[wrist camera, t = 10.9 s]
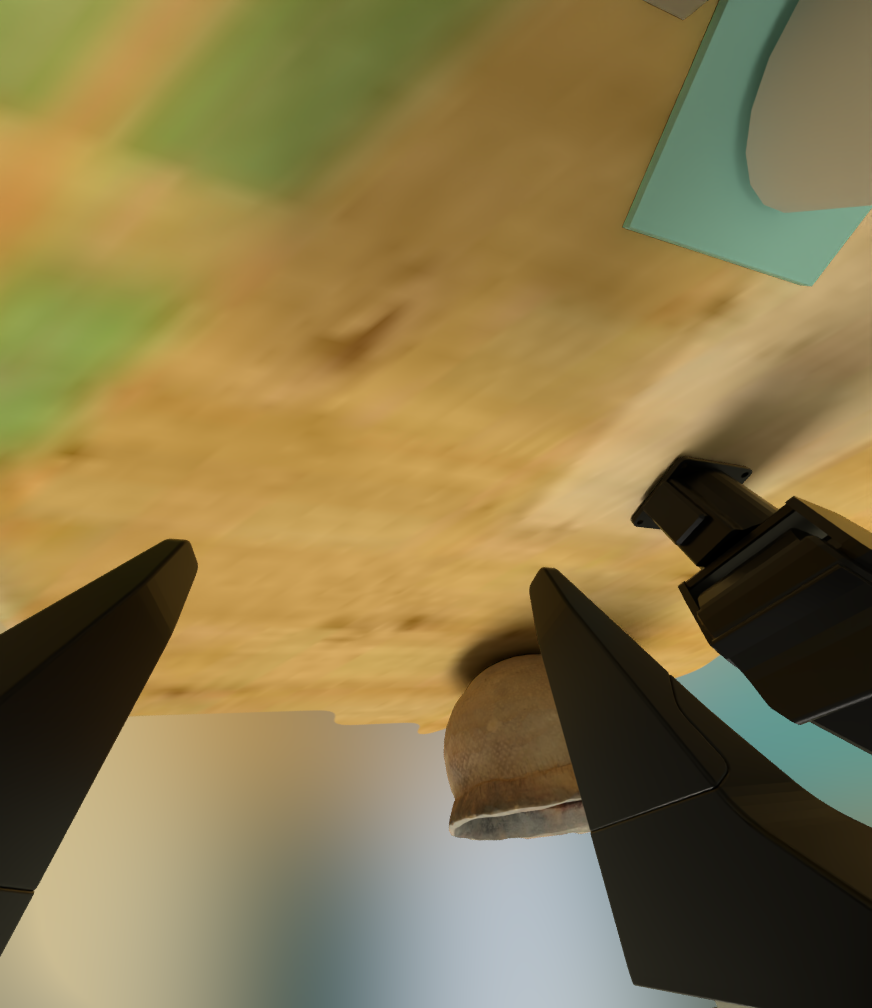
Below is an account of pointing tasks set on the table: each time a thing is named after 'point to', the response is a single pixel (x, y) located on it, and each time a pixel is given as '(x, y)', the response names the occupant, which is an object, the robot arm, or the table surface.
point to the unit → (678, 6)
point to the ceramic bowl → (510, 758)
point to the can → (815, 111)
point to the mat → (731, 161)
